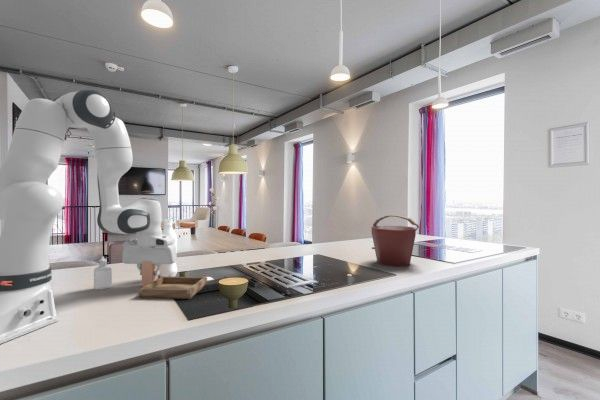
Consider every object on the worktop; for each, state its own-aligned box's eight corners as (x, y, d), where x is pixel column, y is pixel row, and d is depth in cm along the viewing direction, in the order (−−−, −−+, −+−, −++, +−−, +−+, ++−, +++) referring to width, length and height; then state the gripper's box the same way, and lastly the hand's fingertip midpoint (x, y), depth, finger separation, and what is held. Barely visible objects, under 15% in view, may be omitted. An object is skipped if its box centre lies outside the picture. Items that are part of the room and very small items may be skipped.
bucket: (427, 265, 151) (428, 216, 151) (397, 270, 140) (397, 217, 140) (390, 256, 172) (390, 213, 172) (361, 260, 161) (361, 214, 161)
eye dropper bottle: (108, 289, 112) (108, 257, 112) (91, 290, 111) (91, 258, 111) (113, 286, 116) (113, 255, 116) (97, 286, 115) (97, 255, 115)
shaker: (152, 287, 115) (151, 257, 115) (141, 287, 115) (141, 257, 115) (157, 284, 119) (157, 255, 119) (147, 283, 119) (147, 255, 119)
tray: (190, 298, 102) (190, 290, 102) (138, 297, 103) (138, 289, 103) (206, 284, 118) (206, 277, 118) (162, 284, 119) (162, 276, 119)
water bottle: (180, 275, 131) (180, 218, 131) (172, 280, 124) (171, 220, 124) (165, 275, 132) (164, 218, 131) (155, 279, 125) (155, 220, 124)
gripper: (118, 240, 114) (118, 276, 114) (170, 241, 113) (171, 277, 113) (128, 238, 120) (128, 272, 121) (178, 238, 119) (178, 273, 120)
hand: (149, 275), depth 117 cm, fingers closed on shaker, 4 cm apart
